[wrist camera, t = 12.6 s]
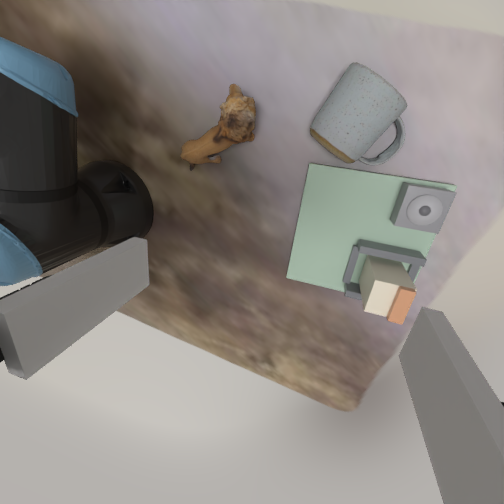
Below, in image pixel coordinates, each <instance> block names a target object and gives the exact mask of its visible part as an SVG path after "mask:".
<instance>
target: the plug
mask: <svg viewBox="0 0 504 504" xmlns="http://www.w3.org/2000/svg"><path fill="white" fill-rule="evenodd" d="M359 286H360V291H361V297H362V303H363V308H364V311H365V312H369V313H373V314H377V315H381V316H385V317H387V320H388V321H390V322H394V323H398V324H403V322H404V319H405V317H406V315H407V313H408V311H409V308H410V306H411V304H412V302H413V299H414V297H415V295H416V291H417V289H416V287H415V285H414V284H413V282H412V280H411V278H410V276H409V275H408V273H407V271H406V269H405V268H404V266H403V264H402V262H399V261H394V260H390V259H385V258H380V257H376V256H371V255H367V257H366V260H365V263H364V266H363V269H362V272H361V275H360V278H359Z"/></svg>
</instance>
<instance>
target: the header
mask: <svg viewBox="0 0 504 504" xmlns="http://www.w3.org/2000/svg"><path fill="white" fill-rule="evenodd" d="M359 253H362V254H366V255H371V256H376V257H380V258H385V259H390V260H394V261H399V262H404V263H408V264H410V265H409V268H408V270H407V273H408V275H409V276H410V278H411V280H412V282H414V279H415V277H416V275H417V273H418V270H419V268H420V266H422V267H424V265H425V263H426V258H425V257H424V256H423V254H422V253H421V252H420V251H417V250H412V249H407V248H402V247H397V246H392V245H387V244H383V243H378V242H373V241H368V240H363V239H359V241H358V244H357V245H354V244H353V248H352V251H351V254H350V257H349V261H348V264H347V267H346V270H345V274H344V277H343V283H345V285H344V291H345V296H346V297H350V298H354V299H358V300H362V297H361V291H360V286H359V284H358V283H354V282H350V281H351V278H352V275H353V272H354V268H355V265H356V262H357V259H358V256H359Z"/></svg>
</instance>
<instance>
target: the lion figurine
mask: <svg viewBox="0 0 504 504" xmlns="http://www.w3.org/2000/svg"><path fill="white" fill-rule="evenodd" d="M229 88H230V90H229V94H230V95H229V96H228V97H227V99H226V102H225V103H222V105H220V109H221V117H220V120H219V122H218V125H217V126H215V127H213V128H211V129H210V130H209V131H208V132H206V133H205V134H204V135H203V136H202V137H201V138H199V139H197V140H189V141H187V142H186V143H185V144H184V145H183V146H182V153H181V158H182V159H183V160H186V161H188V162H189V163H190V170H191V171H192V170H193V169H194V164H202V163H206V162H207V163H211V162H213V163H220V162H221V157H220V156H219V155H216V156H214V157H208V155H211V154H215V153H219V152H221V151H223V150H225V149H227V148H229V147H230V146H231V145H232V144H238V143H241V142H245V141H253V140H254V134H253V132H252V130H254V128H255V116H256V114H255V113H256V110H255V109H256V108H255V101H254V99H253V97H252V98H250V97H246V96H243V94H242V92H241V88H240V87H239V86H237V85H236V84H231V85H230V87H229Z"/></svg>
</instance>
